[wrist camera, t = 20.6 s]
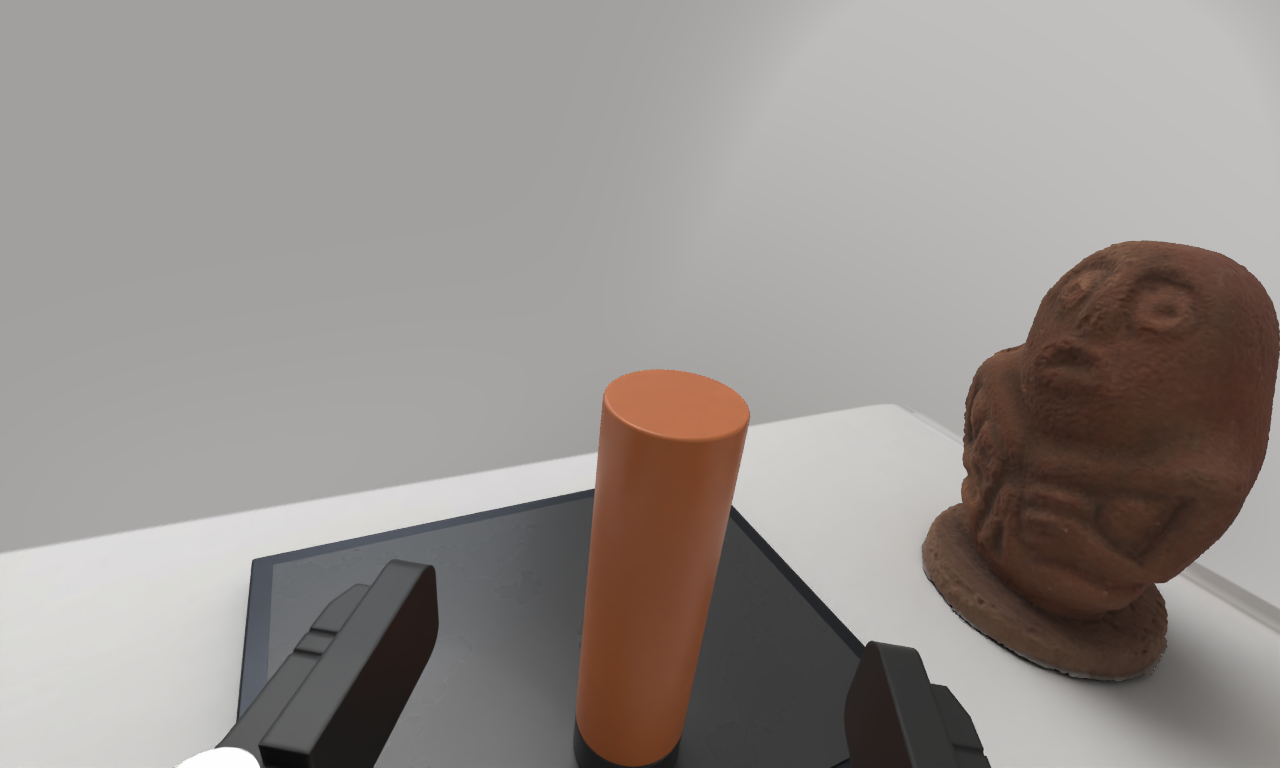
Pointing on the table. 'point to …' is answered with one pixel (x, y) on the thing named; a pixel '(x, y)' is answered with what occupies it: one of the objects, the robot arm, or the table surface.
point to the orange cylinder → (653, 560)
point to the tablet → (568, 643)
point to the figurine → (1108, 455)
